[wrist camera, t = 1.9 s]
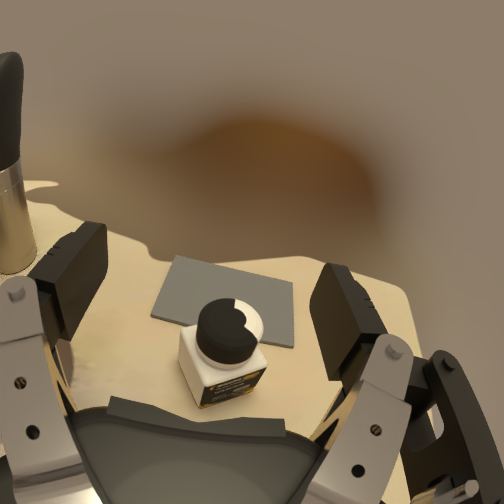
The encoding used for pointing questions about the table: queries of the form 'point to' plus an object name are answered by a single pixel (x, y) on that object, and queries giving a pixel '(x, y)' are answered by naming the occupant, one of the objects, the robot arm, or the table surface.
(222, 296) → the placemat
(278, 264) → the table surface
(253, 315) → the medicine bottle
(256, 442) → the robot arm
